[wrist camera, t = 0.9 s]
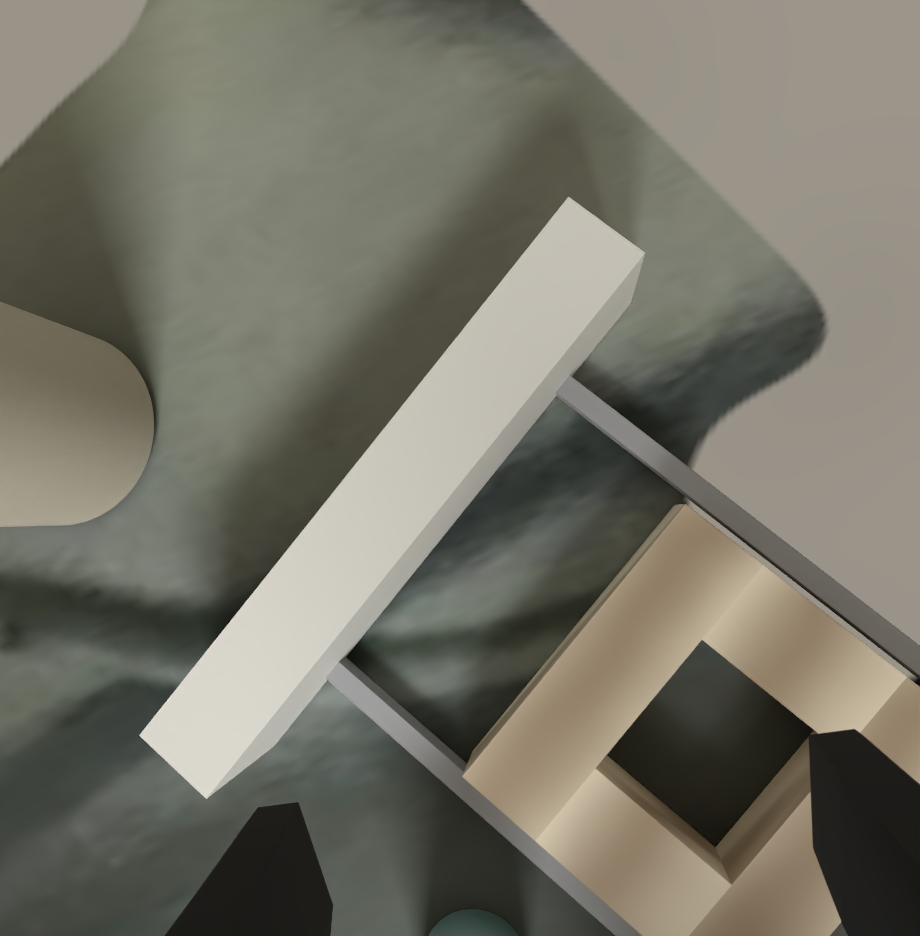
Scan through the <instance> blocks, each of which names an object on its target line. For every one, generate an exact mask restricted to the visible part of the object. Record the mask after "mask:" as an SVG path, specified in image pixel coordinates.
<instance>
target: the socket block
mask: <svg viewBox="0 0 920 936" xmlns="http://www.w3.org/2000/svg"><path fill="white" fill-rule="evenodd" d="M701 640H703V641H704V642H706V643H707V644H708V645H709V646H711V647H712V648H713V649H714V650H716V651H717V652H718V653H719V654H721V655H722V656H723V657H724V658H725V659H727V660H728V661H729V662H730V663H732V664H733V665H734V666H735V667H737V668H738V669H739V670H740V671H742V672H743V673H744V674H745V675H747V676H748V677H749V678H750V679H752V680H753V681H754V682H755V683H756V684H758V685H759V686H760V687H761V688H763V689H764V690H765V691H766V692H768V693H769V694H770V695H771V696H773V697H774V698H775V699H776V700H778V701H779V702H780V703H781V704H782V705H784V706H785V707H786V708H787V709H789V710H790V711H791V712H792V713H794V714H795V715H796V716H797V717H799V718H800V719H801V720H802V721H804V722H805V723H806V724H807V725H808V726H810V727H811V728H812V729H813V730H814V731H813V732H812V733H811V734H810V735H812V734H820V733H827V732H835V731H842V730H850V729H855V730H857V731H858V732H860V733H861V734H862V735H864V736H865V737H866V738H867V739H868V740H869V741H870V742H872V743H873V744H874V745H875V746H876V747H877V748H879V749H880V750H881V751H882V752H883V753H884V754H885V755H887V756H888V757H889V758H890V759H891V760H892V761H893V762H895V763H896V764H897V765H898V766H899V767H900V768H901V769H903V770H904V771H905V772H906V773H907V774H908V775H910V776H911V777H912V778H913V779H914V780H915V781H917V782H918V783H919V784H920V687H919V686H918V685H917V684H916V683H914V682H913V681H912V680H910V679H909V678H908V677H907V676H905V675H904V674H903V673H901V672H900V671H899V670H898V669H896V668H895V667H894V666H892V665H891V664H890V663H889V662H887V661H886V660H885V659H883V658H882V657H881V656H880V655H878V654H877V653H876V652H875V651H873V650H872V649H871V648H869V647H868V646H867V645H866V644H864V643H863V642H862V641H861V640H859V639H858V638H857V637H855V636H854V635H853V634H851V633H850V632H849V631H848V630H846V629H845V628H844V627H842V626H841V625H840V624H839V623H837V622H836V621H835V620H834V619H832V618H831V617H830V616H829V615H827V614H826V613H825V612H823V611H822V610H821V609H820V608H818V607H817V606H816V605H814V604H813V603H812V602H811V601H809V600H808V599H807V598H805V597H804V596H803V595H801V594H800V593H799V592H798V591H796V590H795V589H794V588H793V587H791V586H790V585H789V584H787V583H786V582H785V581H784V580H782V579H781V578H780V577H778V576H777V575H776V574H775V573H773V572H772V571H771V570H770V569H768V568H767V567H766V566H764V565H763V564H762V563H761V562H759V561H758V560H757V559H756V558H754V557H753V556H752V555H750V554H749V553H748V552H747V551H745V550H744V549H743V548H741V547H740V546H739V545H738V544H736V543H735V542H734V541H732V540H731V539H730V538H729V537H727V536H726V535H725V534H723V533H722V532H721V531H720V530H718V529H717V528H716V527H715V526H713V525H712V524H711V523H709V522H708V521H707V520H706V519H704V518H703V517H702V516H700V515H699V514H698V513H697V512H695V511H694V510H693V509H691V508H690V507H689V506H688V505H686V504H679V505H674V506H673V507H672V508H671V510H670V511H669V512H668V513H667V514H666V516H665V517H664V518H663V519H662V521H661V522H660V523H659V524H658V525H657V527H656V528H655V529H654V530H653V532H652V533H651V534H650V535H649V536H648V538H647V539H646V540H645V541H644V543H643V544H642V545H641V546H640V547H639V549H638V550H637V551H636V552H635V554H634V555H633V556H632V557H631V558H630V560H629V561H628V562H627V563H626V565H625V566H624V567H623V568H622V569H621V571H620V572H619V573H618V574H617V575H616V577H615V578H614V579H613V580H612V582H611V583H610V584H609V585H608V586H607V588H606V589H605V590H604V591H603V593H602V594H601V595H600V596H599V597H598V599H597V600H596V601H595V602H594V604H593V605H592V606H591V607H590V608H589V610H588V611H587V612H586V613H585V615H584V616H583V617H582V618H581V619H580V621H579V622H578V623H577V624H576V626H575V627H574V628H573V629H572V630H571V632H570V633H569V634H568V635H567V637H566V638H565V639H564V640H563V641H562V643H561V644H560V645H559V646H558V648H557V649H556V650H555V651H554V652H553V654H552V655H551V656H550V657H549V659H548V660H547V661H546V662H545V663H544V665H543V666H542V667H541V668H540V670H539V671H538V672H537V673H536V674H535V676H534V677H533V678H532V679H531V681H530V682H529V683H528V684H527V685H526V687H525V688H524V689H523V690H522V691H521V693H520V694H519V695H518V696H517V698H516V699H515V700H514V701H513V702H512V704H511V705H510V706H509V707H508V709H507V710H506V711H505V712H504V713H503V715H502V716H501V717H500V718H499V720H498V721H497V722H496V723H495V724H494V726H493V727H492V728H491V729H490V731H489V732H488V733H487V734H486V735H485V737H484V738H483V739H482V740H481V742H480V743H479V744H478V745H477V746H476V748H475V749H474V750H473V751H472V754H471V756H470V759H469V761H468V764H467V766H466V768H465V771H464V773H463V776H462V777H463V778H464V779H465V780H467V781H468V782H469V783H470V784H471V785H472V786H473V787H475V788H476V789H477V790H478V791H479V792H480V793H481V794H482V795H484V796H485V797H486V798H487V799H488V800H489V801H490V802H492V803H493V804H494V805H495V806H496V807H497V808H498V809H499V810H501V811H502V812H503V813H504V814H505V815H506V816H507V817H508V818H510V819H511V820H512V821H513V822H514V823H515V824H516V825H518V826H519V827H520V828H521V829H522V830H523V831H524V832H525V833H527V834H528V835H529V836H530V837H531V838H532V839H533V840H535V841H536V842H537V843H538V844H539V845H540V846H541V847H542V848H544V849H545V850H546V851H547V852H548V853H549V854H550V855H552V856H553V857H554V858H555V859H556V860H557V861H558V862H559V863H561V864H562V865H563V866H564V867H565V868H566V869H567V870H569V871H570V872H571V873H572V874H573V875H574V876H575V877H576V878H578V879H579V880H580V881H581V882H582V883H583V884H584V885H586V886H587V887H588V888H589V889H590V890H591V891H592V892H593V893H595V894H596V895H597V896H598V897H599V898H600V899H601V900H603V901H604V902H605V903H606V904H607V905H608V906H609V907H610V908H612V909H613V910H614V911H615V912H616V913H617V914H618V915H620V916H621V917H622V918H623V919H624V920H625V921H626V922H627V923H629V924H630V925H631V926H632V927H633V928H634V929H635V930H637V931H638V932H639V933H640V934H641V935H642V936H830V935H831V934H832V932H833V931H834V930H835V929H836V928H837V927H838V925H839V924H840V923H841V919H840V917H839V914H838V912H837V909H836V907H835V904H834V902H833V899H832V897H831V894H830V892H829V889H828V886H827V884H826V881H825V878H824V876H823V873H822V870H821V868H820V865H819V863H818V860H817V857H816V855H815V852H814V849H813V839H812V813H811V786H810V760H809V737H808V738H807V739H806V740H805V741H804V743H803V744H802V745H801V746H800V747H799V749H798V750H797V751H796V752H795V753H794V754H793V756H792V757H791V758H790V759H789V760H788V762H787V763H786V764H785V765H784V766H783V768H782V769H781V770H780V771H779V772H778V774H777V775H776V776H775V777H774V778H773V779H772V781H771V782H770V783H769V784H768V785H767V787H766V788H765V789H764V790H763V791H762V793H761V794H760V795H759V796H758V797H757V799H756V800H755V801H754V802H753V803H752V804H751V806H750V807H749V808H748V809H747V810H746V812H745V813H744V814H743V815H742V816H741V818H740V819H739V820H738V821H737V822H736V824H735V825H734V826H733V827H732V828H731V829H730V831H729V832H728V833H727V834H726V835H725V837H724V838H723V839H722V840H721V841H720V843H719V844H718V845H717V846H716V847H714V846H713V845H712V844H711V843H710V842H708V841H707V840H706V839H705V838H704V837H702V836H701V835H700V834H699V833H698V832H697V831H695V830H694V829H693V828H692V827H691V826H690V825H688V824H687V823H686V822H685V821H684V820H682V819H681V818H680V817H679V816H678V815H677V814H675V813H674V812H673V811H672V810H671V809H670V808H668V807H667V806H666V805H665V804H664V803H662V802H661V801H660V800H659V799H658V798H657V797H655V796H654V795H653V794H652V793H651V792H650V791H648V790H647V789H646V788H645V787H644V786H642V785H641V784H640V783H639V782H638V781H637V780H635V779H634V778H633V777H632V776H631V775H630V774H628V773H627V772H626V771H625V770H624V769H622V768H621V767H620V766H619V765H618V764H617V763H615V762H614V761H613V760H612V759H611V758H610V757H608V756H607V754H608V753H609V751H610V750H611V749H612V748H613V746H614V745H615V744H616V743H617V742H618V740H619V739H620V738H621V737H622V736H623V734H624V733H625V732H626V731H627V730H628V728H629V727H630V726H631V725H632V724H633V722H634V721H635V720H636V719H637V717H638V716H639V715H640V714H641V713H642V711H643V710H644V709H645V708H646V707H647V705H648V704H649V703H650V702H651V701H652V699H653V698H654V697H655V696H656V695H657V693H658V692H659V691H660V690H661V688H662V687H663V686H664V685H665V684H666V682H667V681H668V680H669V679H670V678H671V676H672V675H673V674H674V673H675V672H676V670H677V669H678V668H679V667H680V666H681V664H682V663H683V662H684V661H685V660H686V658H687V657H688V656H689V655H690V653H691V652H692V651H693V650H694V649H695V647H696V646H697V645H698V644H699V643H700V641H701Z"/></svg>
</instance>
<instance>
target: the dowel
mask: <svg viewBox="0 0 920 936" xmlns="http://www.w3.org/2000/svg"><path fill="white" fill-rule="evenodd" d="M428 936H519V935H518V933H517V932H516V931H515V930H514V928H513V927H512V926H511V925H510V924H509V923H507V922H506V921H505V920H504V919H502V918H501V917H499V916H497V915H495V914H493V913H491V912H488V911H484V910H479V909H464V910H460V911H456V912H453V913H451V914H449V915H447V916H446V917H444V918H443V919H441V920H440V921H439V922H438V923H437V924H436V925H435V926H434V927H433V929H432V930H431V932H430V933H429V935H428Z"/></svg>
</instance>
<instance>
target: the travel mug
mask: <svg viewBox="0 0 920 936" xmlns="http://www.w3.org/2000/svg"><path fill="white" fill-rule="evenodd" d="M153 435H154V414H153V407H152V402H151V398H150V395H149V391H148V389H147V386H146V384H145V382H144V380H143V378H142V376H141V374H140V373H139V371H138V370H137V368H136V367H135V366H134V364H133V363H132V362H131V361H130V360H129V359H128V358H127V357H126V356H125V355H124V354H123V353H122V352H121V351H119V350H118V349H117V348H116V347H114V346H112V345H111V344H109V343H107V342H105V341H103V340H101V339H99V338H96V337H93V336H91V335H88V334H85V333H83V332H80V331H77V330H75V329H72V328H69V327H67V326H64V325H61V324H59V323H56V322H53V321H51V320H48V319H45V318H43V317H40V316H37V315H35V314H32V313H29V312H27V311H24V310H21V309H18V308H16V307H13V306H10V305H8V304H5V303H2V302H0V527H5V526H54V525H72V524H78V523H82V522H86V521H89V520H91V519H94V518H96V517H98V516H100V515H102V514H104V513H106V512H107V511H109V510H110V509H112V508H113V507H114V506H116V505H117V504H118V503H119V502H120V501H121V500H123V499H124V498H125V497H126V495H127V494H128V493H129V492H130V491H131V490H132V488H133V487H134V486H135V484H136V483H137V481H138V480H139V478H140V476H141V475H142V473H143V470H144V468H145V466H146V464H147V461H148V458H149V455H150V452H151V448H152V442H153Z"/></svg>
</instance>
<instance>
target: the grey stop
mask: <svg viewBox="0 0 920 936" xmlns="http://www.w3.org/2000/svg"><path fill="white" fill-rule="evenodd" d="M644 256H645V252H643V251H642V250H641V249H639V248H638V247H636V246H635V245H634V244H632V243H631V242H630V241H628V240H627V239H626V238H624V237H623V236H621V235H620V234H619V233H617V232H616V231H615V230H613V229H612V228H611V227H609V226H608V225H606V224H605V223H604V222H602V221H601V220H600V219H598V218H597V217H596V216H594V215H593V214H591V213H590V212H589V211H587V210H586V209H585V208H583V207H582V206H580V205H579V204H578V203H576V202H575V201H574V200H572V199H571V198H570V197H568V198H567V199H566V200H565V202H564V203H563V204H562V205H561V207H560V208H559V209H558V211H557V212H556V213H555V214H554V216H553V217H552V218H551V219H550V221H549V222H548V223H547V224H546V226H545V227H544V228H543V229H542V231H541V232H540V233H539V234H538V236H537V237H536V238H535V239H534V241H533V242H532V243H531V244H530V246H529V247H528V248H527V249H526V251H525V252H524V253H523V254H522V256H521V257H520V258H519V259H518V261H517V262H516V263H515V264H514V266H513V267H512V268H511V270H510V271H509V272H508V273H507V275H506V276H505V277H504V278H503V280H502V281H501V282H500V283H499V285H498V286H497V287H496V288H495V290H494V291H493V292H492V293H491V295H490V296H489V297H488V298H487V300H486V301H485V302H484V303H483V305H482V306H481V307H480V308H479V310H478V311H477V312H476V313H475V315H474V316H473V317H472V318H471V320H470V321H469V322H468V323H467V325H466V326H465V327H464V329H463V330H462V331H461V332H460V334H459V335H458V336H457V337H456V339H455V340H454V341H453V342H452V344H451V345H450V346H449V347H448V349H447V350H446V351H445V352H444V354H443V355H442V356H441V357H440V359H439V360H438V361H437V362H436V364H435V365H434V366H433V367H432V369H431V370H430V371H429V372H428V374H427V375H426V376H425V377H424V379H423V380H422V381H421V382H420V384H419V385H418V386H417V388H416V389H415V390H414V391H413V393H412V394H411V395H410V396H409V398H408V399H407V400H406V401H405V403H404V404H403V405H402V406H401V408H400V409H399V410H398V411H397V413H396V414H395V415H394V416H393V418H392V419H391V420H390V421H389V423H388V424H387V425H386V426H385V428H384V429H383V430H382V431H381V433H380V434H379V435H378V436H377V438H376V439H375V440H374V441H373V443H372V444H371V445H370V447H369V448H368V449H367V450H366V452H365V453H364V454H363V455H362V457H361V458H360V459H359V460H358V462H357V463H356V464H355V465H354V467H353V468H352V469H351V470H350V472H349V473H348V474H347V475H346V477H345V478H344V479H343V480H342V482H341V483H340V484H339V485H338V487H337V488H336V489H335V490H334V492H333V493H332V494H331V495H330V497H329V498H328V499H327V500H326V502H325V503H324V504H323V506H322V507H321V508H320V509H319V511H318V512H317V513H316V514H315V516H314V517H313V518H312V519H311V521H310V522H309V523H308V524H307V526H306V527H305V528H304V529H303V531H302V532H301V533H300V534H299V536H298V537H297V538H296V539H295V541H294V542H293V543H292V544H291V546H290V547H289V548H288V549H287V551H286V552H285V553H284V554H283V556H282V557H281V558H280V560H279V561H278V562H277V563H276V565H275V566H274V567H273V568H272V570H271V571H270V572H269V573H268V575H267V576H266V577H265V578H264V580H263V581H262V582H261V583H260V585H259V586H258V587H257V588H256V590H255V591H254V592H253V593H252V595H251V596H250V597H249V598H248V600H247V601H246V602H245V603H244V605H243V606H242V607H241V608H240V610H239V611H238V612H237V613H236V615H235V616H234V617H233V619H232V620H231V621H230V622H229V624H228V625H227V626H226V627H225V629H224V630H223V631H222V632H221V634H220V635H219V636H218V637H217V639H216V640H215V641H214V642H213V644H212V645H211V646H210V647H209V649H208V650H207V651H206V652H205V654H204V655H203V656H202V657H201V659H200V660H199V661H198V662H197V664H196V665H195V666H194V667H193V669H192V670H191V671H190V672H189V674H188V675H187V676H186V678H185V679H184V680H183V681H182V683H181V684H180V685H179V686H178V688H177V689H176V690H175V691H174V693H173V694H172V695H171V696H170V698H169V699H168V700H167V701H166V703H165V704H164V705H163V706H162V708H161V709H160V710H159V711H158V713H157V714H156V715H155V716H154V718H153V719H152V720H151V721H150V723H149V724H148V725H147V726H146V728H145V729H144V730H143V731H142V733H141V734H140V735H139V736H140V737H141V738H142V739H143V740H145V741H146V742H147V743H148V744H149V745H150V746H151V747H152V748H153V749H154V750H155V751H156V752H157V753H158V754H159V755H160V756H162V757H163V758H164V759H165V760H166V761H167V762H168V763H169V764H170V765H171V766H172V767H173V768H174V769H175V770H176V771H177V772H179V773H180V774H181V775H182V776H183V777H184V778H185V779H186V780H187V781H188V782H189V783H190V784H191V785H192V786H193V787H194V788H195V789H197V790H198V791H199V792H200V793H201V794H202V795H203V796H204V797H205V798H206V799H207V798H208V797H209V796H211V795H212V794H213V793H214V792H216V791H217V790H218V789H220V788H221V787H222V786H223V785H225V784H226V783H227V782H229V781H230V780H231V779H232V778H234V777H235V776H236V775H238V774H239V773H240V772H241V771H243V770H244V769H245V768H247V767H248V766H249V765H250V764H252V763H253V762H254V761H256V760H257V759H258V758H259V757H261V756H262V755H263V754H265V753H266V752H267V751H268V750H270V749H271V748H272V747H273V746H275V745H276V743H277V742H278V741H279V740H280V738H281V737H282V736H283V735H284V733H285V732H286V731H287V730H288V728H289V727H290V726H291V725H292V723H293V722H294V721H295V720H296V718H297V717H298V716H299V715H300V713H301V712H302V711H303V710H304V709H305V707H306V706H307V705H308V704H309V702H310V701H311V700H312V699H313V697H314V696H315V695H316V694H317V692H318V691H319V690H320V689H321V687H322V686H323V685H324V684H325V682H326V681H327V680H328V681H329V682H330V683H331V684H333V685H334V686H335V687H336V688H337V689H338V690H339V691H341V692H342V693H343V694H344V695H345V696H346V697H347V698H348V699H350V700H351V701H352V702H353V703H354V704H355V705H356V706H357V707H359V708H360V709H361V710H362V711H363V712H364V713H365V714H366V715H368V716H369V717H370V718H371V719H372V720H373V721H374V722H375V723H377V724H378V725H379V726H380V727H381V728H382V729H383V730H384V731H386V732H387V733H388V734H389V735H390V736H391V737H392V738H393V739H395V740H396V741H397V742H398V743H399V744H400V745H401V746H402V747H404V748H405V749H406V750H407V751H408V752H409V753H410V754H411V755H413V756H414V757H415V758H416V759H417V760H418V761H419V762H420V763H422V764H423V765H424V766H425V767H426V768H427V769H428V770H429V771H431V772H432V773H433V774H434V775H435V776H436V777H437V778H439V779H440V780H441V781H442V782H443V783H444V784H445V785H446V786H448V787H449V788H450V789H451V790H452V791H453V792H454V793H455V794H457V795H458V796H459V797H460V798H461V799H462V800H463V801H464V802H466V803H467V804H468V805H469V806H470V807H471V808H472V809H473V810H475V811H476V812H477V813H478V814H479V815H480V816H481V817H482V818H484V819H485V820H486V821H487V822H488V823H489V824H490V825H491V826H493V827H494V828H495V829H496V830H497V831H498V832H499V833H500V834H502V835H503V836H504V837H505V838H506V839H507V840H508V841H509V842H511V843H512V844H513V845H514V846H515V847H516V848H517V849H518V850H520V851H521V852H522V853H523V854H524V855H525V856H526V857H527V858H529V859H530V860H531V861H532V862H533V863H534V864H535V865H537V866H538V867H539V868H540V869H541V870H542V871H543V872H544V873H546V874H547V875H548V876H549V877H550V878H551V879H552V880H553V881H555V882H556V883H557V884H558V885H559V886H560V887H561V888H562V889H564V890H565V891H566V892H567V893H568V894H569V895H570V896H571V897H573V898H574V899H575V900H576V901H577V902H578V903H579V904H580V905H582V906H583V907H584V908H585V909H586V910H587V911H588V912H589V913H591V914H592V915H593V916H594V917H595V918H596V919H597V920H598V921H600V922H601V923H602V924H603V925H604V926H605V927H606V928H607V929H609V930H610V931H611V932H612V933H613V934H614V935H615V936H642V935H641V934H640V933H639V932H638V931H637V930H635V929H634V928H633V927H632V926H631V925H630V924H629V923H627V922H626V921H625V920H624V919H623V918H622V917H621V916H620V915H618V914H617V913H616V912H615V911H614V910H613V909H612V908H610V907H609V906H608V905H607V904H606V903H605V902H604V901H603V900H601V899H600V898H599V897H598V896H597V895H596V894H595V893H593V892H592V891H591V890H590V889H589V888H588V887H587V886H586V885H584V884H583V883H582V882H581V881H580V880H579V879H578V878H576V877H575V876H574V875H573V874H572V873H571V872H570V871H569V870H567V869H566V868H565V867H564V866H563V865H562V864H561V863H559V862H558V861H557V860H556V859H555V858H554V857H553V856H552V855H550V854H549V853H548V852H547V851H546V850H545V849H544V848H542V847H541V846H540V845H539V844H538V843H537V842H536V841H535V840H533V839H532V838H531V837H530V836H529V835H528V834H527V833H525V832H524V831H523V830H522V829H521V828H520V827H519V826H518V825H516V824H515V823H514V822H513V821H512V820H511V819H510V818H508V817H507V816H506V815H505V814H504V813H503V812H502V811H501V810H499V809H498V808H497V807H496V806H495V805H494V804H493V803H492V802H490V801H489V800H488V799H487V798H486V797H485V796H484V795H482V794H481V793H480V792H479V791H478V790H477V789H476V788H475V787H473V786H472V785H471V784H470V783H469V782H468V781H467V780H465V779H464V778H463V777H462V776H463V773H464V771H465V768H466V766H467V763H466V762H465V761H463V760H462V759H461V758H460V757H459V756H458V755H457V754H455V753H454V752H453V751H452V750H451V749H450V748H449V747H447V746H446V745H445V744H444V743H443V742H442V741H441V740H440V739H438V738H437V737H436V736H435V735H434V734H433V733H432V732H430V731H429V730H428V729H427V728H426V727H425V726H424V725H422V724H421V723H420V722H419V721H418V720H417V719H416V718H414V717H413V716H412V715H411V714H410V713H409V712H408V711H406V710H405V709H404V708H403V707H402V706H401V705H400V704H399V703H397V702H396V701H395V700H394V699H393V698H392V697H391V696H389V695H388V694H387V693H386V692H385V691H384V690H383V689H381V688H380V687H379V686H378V685H377V684H376V683H375V682H373V681H372V680H371V679H370V678H369V677H368V676H367V675H366V674H364V673H363V672H362V671H361V670H360V669H359V668H358V667H356V666H355V665H354V664H353V663H352V662H351V661H350V660H348V659H347V658H346V656H347V655H348V654H349V653H350V651H351V650H352V649H353V648H354V646H355V645H356V644H357V643H358V642H359V640H360V639H361V638H362V637H363V635H364V634H365V633H366V632H367V630H368V629H369V628H370V627H371V625H372V624H373V623H374V622H375V620H376V619H377V618H378V617H379V615H380V614H381V613H382V612H383V610H384V609H385V608H386V607H387V606H388V604H389V603H390V602H391V601H392V599H393V598H394V597H395V596H396V594H397V593H398V592H399V591H400V589H401V588H402V587H403V586H404V584H405V583H406V582H407V581H408V579H409V578H410V577H411V576H412V575H413V573H414V572H415V571H416V570H417V568H418V567H419V566H420V565H421V563H422V562H423V561H424V560H425V558H426V557H427V556H428V555H429V553H430V552H431V551H432V550H433V548H434V547H435V546H436V545H437V543H438V542H439V541H440V540H441V539H442V537H443V536H444V535H445V534H446V532H447V531H448V530H449V529H450V527H451V526H452V525H453V524H454V522H455V521H456V520H457V519H458V517H459V516H460V515H461V514H462V512H463V511H464V510H465V509H466V507H467V506H468V505H469V504H470V503H471V501H472V500H473V499H474V498H475V496H476V495H477V494H478V493H479V491H480V490H481V489H482V488H483V486H484V485H485V484H486V483H487V481H488V480H489V479H490V478H491V476H492V475H493V474H494V473H495V472H496V470H497V469H498V468H499V467H500V465H501V464H502V463H503V462H504V460H505V459H506V458H507V457H508V455H509V454H510V453H511V452H512V450H513V449H514V448H515V447H516V445H517V444H518V443H519V442H520V440H521V439H522V438H523V437H524V436H525V434H526V433H527V432H528V431H529V429H530V428H531V427H532V426H533V424H534V423H535V422H536V421H537V419H538V418H539V417H540V416H541V414H542V413H543V412H544V411H545V409H546V408H547V407H548V406H549V404H550V403H551V402H552V401H553V400H554V398H555V397H556V396H557V397H558V398H560V399H561V400H562V401H563V402H565V403H566V404H567V405H569V406H570V407H571V408H572V409H574V410H575V411H576V412H578V413H579V414H580V415H581V416H583V417H584V418H585V419H586V420H588V421H589V422H590V423H592V424H593V425H594V426H595V427H597V428H598V429H599V430H601V431H602V432H603V433H604V434H606V435H607V436H608V437H610V438H611V439H612V440H613V441H615V442H616V443H617V444H619V445H620V446H621V447H622V448H624V449H625V450H626V451H628V452H629V453H630V454H631V455H633V456H634V457H635V458H637V459H638V460H639V461H640V462H642V463H643V464H644V465H646V466H647V467H648V468H649V469H651V470H652V471H653V472H654V473H656V474H657V475H658V476H660V477H661V478H662V479H663V480H665V481H666V482H667V483H669V484H670V485H671V486H672V487H674V488H675V489H676V490H678V491H679V492H680V493H681V494H683V495H684V496H685V497H687V498H688V499H689V500H690V501H692V502H693V503H694V504H696V505H697V506H698V507H699V508H701V509H702V510H703V511H705V512H706V513H707V514H708V515H710V516H711V517H712V518H714V519H715V520H716V521H717V522H719V523H720V524H721V525H722V526H724V527H725V528H727V529H728V530H729V531H730V532H732V533H733V534H734V535H735V536H737V537H738V538H739V539H741V540H742V541H743V542H744V543H746V544H747V545H748V546H749V547H751V548H752V549H753V550H755V551H756V552H757V553H758V554H760V555H761V556H762V557H764V558H765V559H766V560H768V561H769V562H770V563H771V564H773V565H774V566H775V567H776V568H778V569H779V570H780V571H782V572H783V573H784V574H785V575H787V576H788V577H789V578H791V579H792V580H793V581H794V582H796V583H797V584H798V585H799V586H801V587H802V588H803V589H805V590H806V591H807V592H809V593H810V594H811V595H812V596H814V597H815V598H816V599H817V600H819V601H820V602H821V603H823V604H824V605H825V606H826V607H828V608H829V609H830V610H832V611H833V612H834V613H835V614H837V615H838V616H839V617H841V618H842V619H843V620H844V621H846V622H847V623H848V624H850V625H851V626H852V627H853V628H855V629H856V630H857V631H858V632H860V633H861V634H863V635H864V636H865V637H866V638H867V639H869V640H870V641H871V642H873V643H874V644H875V645H876V646H878V647H879V648H881V649H882V650H883V651H884V652H885V653H887V654H888V655H889V656H891V657H892V658H893V659H894V660H896V661H897V662H898V663H900V664H901V665H902V666H903V667H905V668H906V669H907V670H909V671H910V672H911V673H912V674H914V675H915V676H916V677H918V678H919V679H920V646H919V645H918V644H917V643H916V642H914V641H913V640H912V639H910V638H909V637H908V636H906V635H905V634H904V633H902V632H901V631H900V630H899V629H897V628H896V627H895V626H894V625H892V624H891V623H890V622H888V621H887V620H886V619H884V618H883V617H882V616H880V615H879V614H878V613H877V612H875V611H874V610H873V609H872V608H870V607H869V606H868V605H866V604H865V603H864V602H862V601H861V600H860V599H858V598H857V597H856V596H855V595H853V594H852V593H851V592H850V591H848V590H847V589H846V588H844V587H843V586H842V585H840V584H839V583H838V582H836V581H835V580H834V579H833V578H831V577H830V576H829V575H827V574H826V573H825V572H824V571H822V570H821V569H820V568H818V567H817V566H816V565H814V564H813V563H812V562H811V561H809V560H808V559H807V558H806V557H804V556H803V555H802V554H800V553H799V552H798V551H796V550H795V549H794V548H793V547H791V546H790V545H789V544H787V543H786V542H785V541H783V540H782V539H781V538H780V537H778V536H777V535H776V534H774V533H773V532H772V531H770V530H769V529H768V528H767V527H765V526H764V525H763V524H761V523H760V522H759V521H758V520H756V519H755V518H754V517H752V516H751V515H750V514H749V513H747V512H746V511H745V510H743V509H742V508H741V507H740V506H738V505H737V504H736V503H734V502H733V501H732V500H730V499H729V498H728V497H727V496H725V495H724V494H723V493H721V492H720V491H719V490H717V489H716V488H715V487H714V486H712V485H711V484H710V483H708V482H707V481H706V480H704V479H703V478H702V477H701V476H699V475H698V474H697V473H695V472H694V471H693V470H692V469H690V468H689V467H688V466H686V465H685V464H684V463H683V462H681V461H680V460H679V459H677V458H676V457H675V456H673V455H672V454H671V453H670V452H668V451H667V450H666V449H664V448H663V447H662V446H661V445H659V444H658V443H657V442H655V441H654V440H653V439H651V438H650V437H649V436H648V435H646V434H645V433H644V432H642V431H641V430H640V429H639V428H637V427H636V426H635V425H633V424H632V423H631V422H629V421H628V420H627V419H626V418H624V417H623V416H622V415H620V414H619V413H618V412H617V411H615V410H614V409H613V408H611V407H610V406H609V405H607V404H606V403H605V402H604V401H602V400H601V399H600V398H598V397H597V396H596V395H595V394H593V393H592V392H591V391H589V390H588V389H587V388H585V387H584V386H583V385H582V384H580V383H579V382H578V381H576V380H575V379H574V378H573V377H572V376H573V375H574V373H575V372H576V371H577V370H578V369H579V367H580V366H581V365H582V364H583V362H584V361H585V360H586V359H587V357H588V356H589V355H590V354H591V352H592V351H593V350H594V349H595V347H596V346H597V345H598V344H599V342H600V341H601V340H602V339H603V337H604V336H605V335H606V334H607V333H608V331H609V330H610V329H611V328H612V326H613V325H614V324H615V323H616V321H617V320H618V319H619V318H620V316H621V315H622V314H623V313H624V311H625V310H626V309H627V308H628V306H629V305H630V304H631V301H632V298H633V294H634V291H635V287H636V284H637V280H638V277H639V273H640V270H641V266H642V263H643V259H644Z"/></svg>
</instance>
